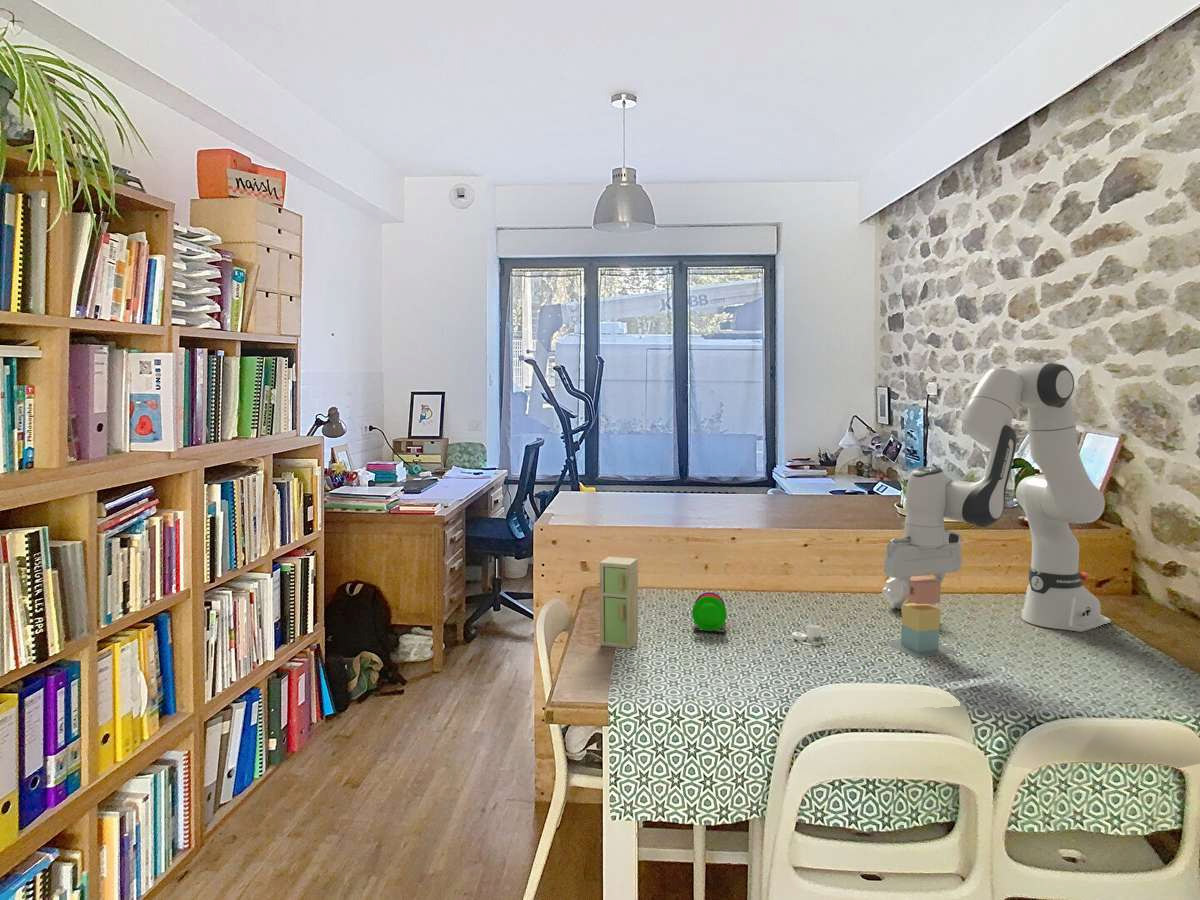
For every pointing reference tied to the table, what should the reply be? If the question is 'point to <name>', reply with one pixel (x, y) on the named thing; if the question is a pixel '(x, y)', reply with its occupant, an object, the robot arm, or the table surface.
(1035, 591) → the robot arm
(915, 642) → the teal brick
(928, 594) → the terracotta brick
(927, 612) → the ochre brick
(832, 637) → the table surface
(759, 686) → the table surface
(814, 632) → the teacup and saucer
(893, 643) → the build plate
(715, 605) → the multicoloured piece
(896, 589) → the ghost figurine
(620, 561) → the toy refrigerator
